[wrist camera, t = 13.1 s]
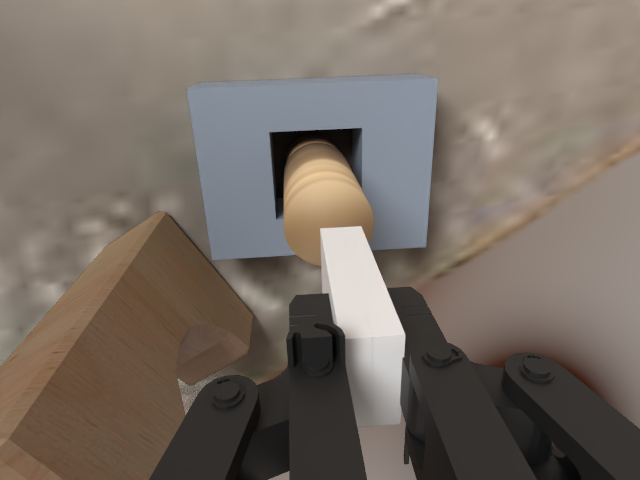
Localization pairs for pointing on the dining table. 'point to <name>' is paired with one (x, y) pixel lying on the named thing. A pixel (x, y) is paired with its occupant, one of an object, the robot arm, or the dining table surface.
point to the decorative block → (118, 360)
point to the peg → (320, 195)
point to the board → (312, 114)
